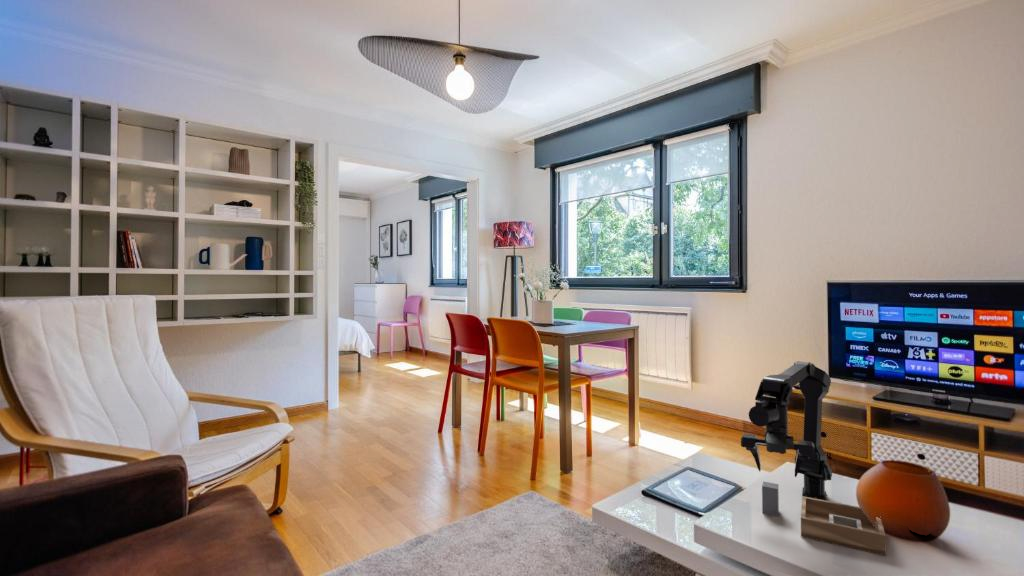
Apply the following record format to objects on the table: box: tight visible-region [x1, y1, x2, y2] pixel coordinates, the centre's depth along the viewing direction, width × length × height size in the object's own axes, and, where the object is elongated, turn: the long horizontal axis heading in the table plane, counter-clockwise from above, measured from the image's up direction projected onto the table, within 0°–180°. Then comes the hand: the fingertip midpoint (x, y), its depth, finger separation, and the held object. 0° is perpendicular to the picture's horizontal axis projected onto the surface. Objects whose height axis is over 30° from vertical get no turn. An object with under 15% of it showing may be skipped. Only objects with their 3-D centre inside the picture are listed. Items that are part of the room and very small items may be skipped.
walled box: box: [800, 495, 887, 557], centre depth 130 cm, size 16×18×5 cm
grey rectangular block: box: [761, 481, 780, 517], centre depth 142 cm, size 4×4×8 cm
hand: (777, 473), depth 140 cm, fingers open, 9 cm apart
